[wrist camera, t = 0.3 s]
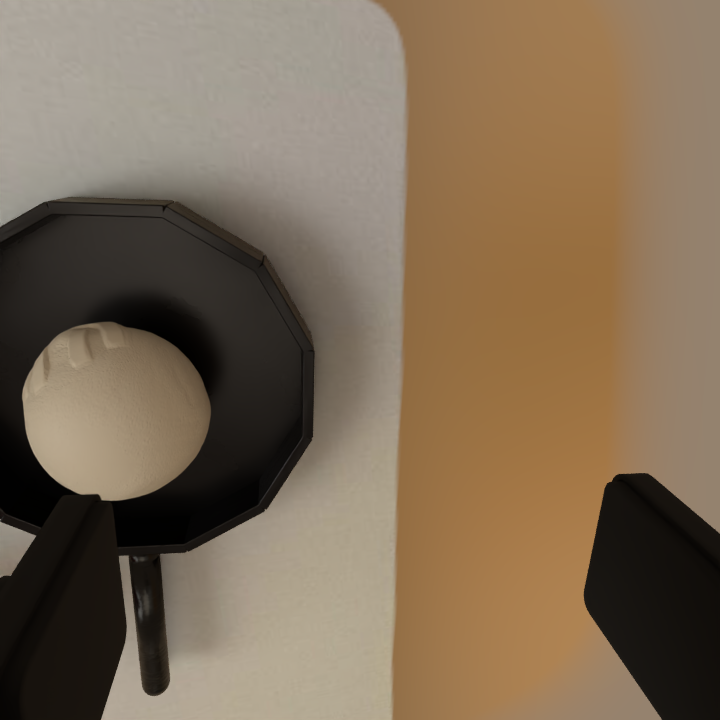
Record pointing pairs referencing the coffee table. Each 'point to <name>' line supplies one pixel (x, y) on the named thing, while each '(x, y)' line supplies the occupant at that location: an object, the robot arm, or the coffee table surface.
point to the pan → (192, 337)
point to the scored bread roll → (114, 411)
